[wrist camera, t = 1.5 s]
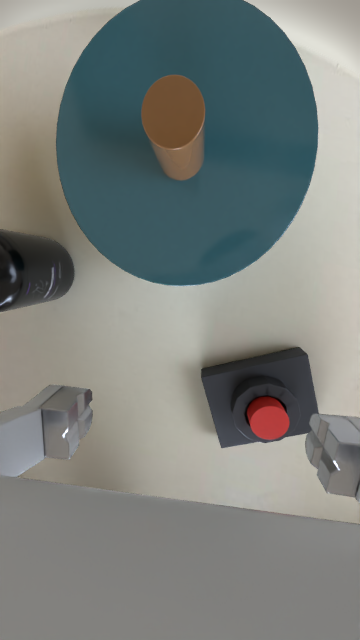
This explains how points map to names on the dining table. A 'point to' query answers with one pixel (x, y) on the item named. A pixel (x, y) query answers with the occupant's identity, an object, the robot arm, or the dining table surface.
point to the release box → (260, 394)
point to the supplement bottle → (32, 270)
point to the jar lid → (187, 139)
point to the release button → (267, 418)
